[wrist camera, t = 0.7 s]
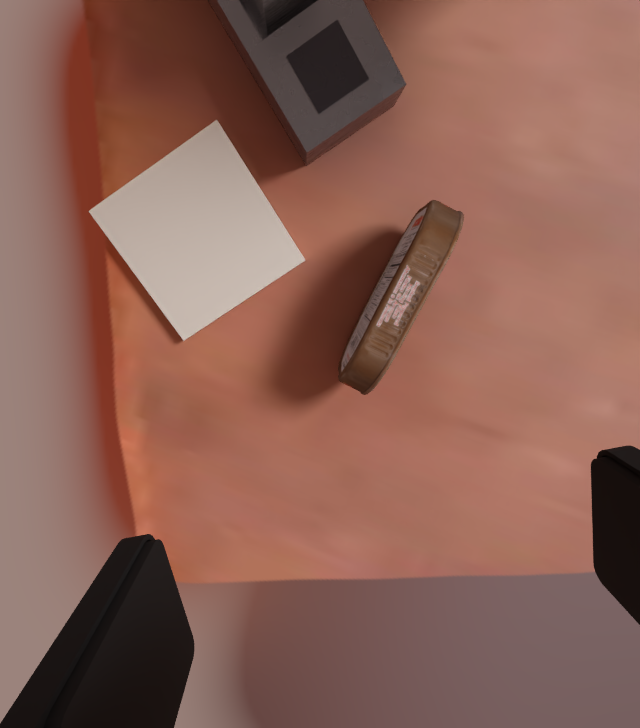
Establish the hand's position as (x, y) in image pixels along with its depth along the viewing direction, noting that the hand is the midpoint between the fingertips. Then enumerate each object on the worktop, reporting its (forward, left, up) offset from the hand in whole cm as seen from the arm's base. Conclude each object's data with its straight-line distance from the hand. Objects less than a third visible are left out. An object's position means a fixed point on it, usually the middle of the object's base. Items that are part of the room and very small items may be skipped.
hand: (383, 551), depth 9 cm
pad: (+4, -12, -28) cm, 31 cm away
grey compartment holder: (-10, -22, -28) cm, 37 cm away
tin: (-6, 0, -28) cm, 29 cm away
